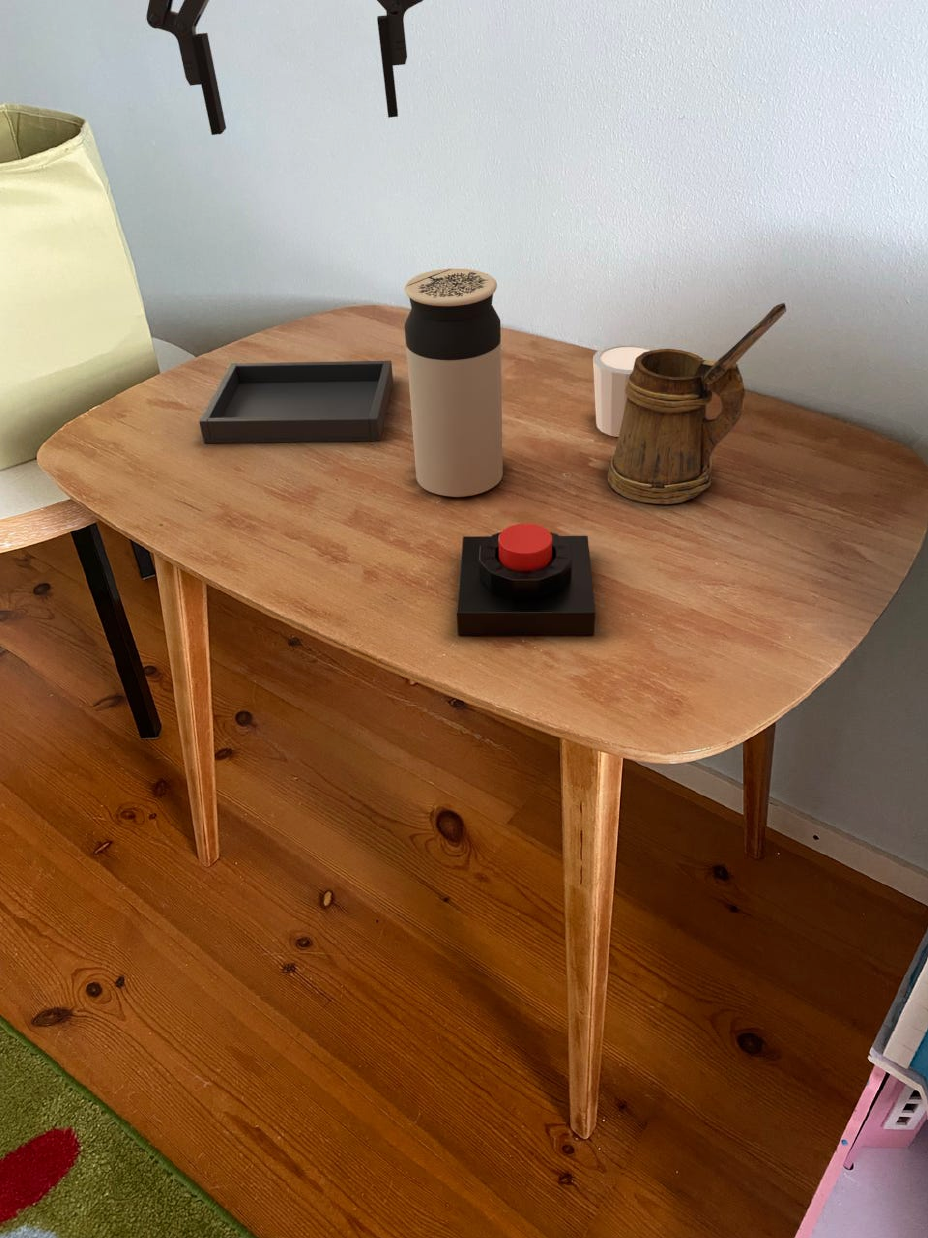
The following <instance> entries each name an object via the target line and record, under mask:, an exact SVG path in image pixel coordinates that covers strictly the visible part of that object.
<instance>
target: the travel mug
mask: <svg viewBox="0 0 928 1238" xmlns="http://www.w3.org/2000/svg"><path fill="white" fill-rule="evenodd" d="M497 288H498V283H497V281H496V279H495V278H494V277H493V276H491V275H490V274H488V273H486V272H484V271H480V270H476V269H469V268H441V269H435V270H434V269H433V270H429V271H426V272H423V273H419V274H417V275H415V276H413V277H411V278H410V279H409V280H407V282H406V283H405V285H404V293H405V294H406V296H407V297H408V299H409V303H410V308H411V309H410V311H409V313H408V315H407V318H406V319H405V323H404V336H405V337H404V338H405V349H406V361H407V362H406V363H407V376H408V388H409V401H410V402H409V403H410V413H411V416H410V417H411V428H412V429H411V430H412V440H413V453H414V465H415V466H414V468H415V478H416V481H417V483H418V485H419V486H420V487H421V488H423V489H424V490H425V491H427V492H430V493H432V494H434V495H435V494H436V495H439V496H443V497H453V498H464V497H471V496H475V495H479V494H482V493H484V492H488V491H490V490H491V489H493V488H494V487H495V486H497V485H498V484H499V483H500V482H501V480H502V478H503V475H504V472H503V471H504V469H503V468H504V467H503V464H504V463H503V406H502V405H503V404H502V403H503V402H502V401H503V400H502V398H503V397H502V394H503V393H502V341H501V340H502V338H501V335H502V331H501V318H500V316H499V315H498V313H497V311H496V309H495V308H494V306H493V298H494V293H495V292H496V290H497Z"/></svg>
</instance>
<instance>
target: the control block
mask: <svg viewBox="0 0 928 1238" xmlns="http://www.w3.org/2000/svg"><path fill="white" fill-rule="evenodd" d="M501 532H502V531H500V532H497V533H493V534H492V535H487V536H485V535H483V536H482V535H480V536H478V535H476V536H475V535H474V536H468V535H467V536H466V535H465V536H462V541H461V542H462V543H461V556H460V569H459V580H458V581H459V582H458V593H457V594H458V595H457V604H456V605H457V606H456V607H457V608H456V621H457V622H456V623H457V625H456V626H457V636H458V637H540V636H541V637H567V636H568V637H580V636H581V637H594V635H595V625H596V624H595V623H596V608H595V607H596V606H595V595H594V587H593V586H594V585H593V576H592V567H591V556H590V546H589V536H588V535H559V534H558V533H555V532H552V531H549V532H550V533H551V535H552V559H551V561H550V563H549V564H548V565H547V566H546V567H543V568H541V569H538V570H535V571H517V570H514V569H511V568H508V567H505V566H504V565H502V563H501V562H500V560H499V535H500V533H501Z"/></svg>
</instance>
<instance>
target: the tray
mask: <svg viewBox="0 0 928 1238" xmlns="http://www.w3.org/2000/svg"><path fill="white" fill-rule="evenodd" d="M393 375H394V374H393V365H392V360H363V361H362V360H353V361H351V360H350V361H349V360H348V361H345V360H344V361H298V362H295V361H293V362H288V361H287V362H243V363H241V362H240V363H237V362H236V363H230V364H229V366H228V368H227V370H226V372H225V373H224V375H223V377H222V378H221V381H220V382H219V384H218V386H217V388H216V390H215V391H214V393H213V395H212V397H211V399H210V400H209V402H208V404H207V407H206V408H205V409H204V411H203V414H202V416H201V417H200V419H199V421H198V423H199V427H200V432H201V436H202V439H203V441H202V442H203V443H204V444H245V443H246V444H248V443H249V444H250V443H251V444H252V443H253V444H254V443H255V444H256V443H320V442H321V443H324V442H325V443H327V442H328V443H329V442H335V443H337V442H380V440H381V437H382V431H383V427H384V423H385V419H386V414H387V410H388V405H389V401H390V397H391V392H392V387H393V383H394V376H393Z"/></svg>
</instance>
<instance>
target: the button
mask: <svg viewBox="0 0 928 1238" xmlns="http://www.w3.org/2000/svg"><path fill="white" fill-rule="evenodd" d="M500 532H501V533H500V535H499V560H500V562H501V563H502V565H504V566H505V567H508V568H511V569H514V570H517V571H535V570H538V569H541V568H543V567H546V566H547V565H548V564H549V563H550V561H551V559H552V535H551V533H550V532H551V531H549V530H548V529H547V528H546V527H544V526H541V525H539V524H534V523H516V524H512V525H510V526H507V527H506V528H504V529H502V531H500Z"/></svg>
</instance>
